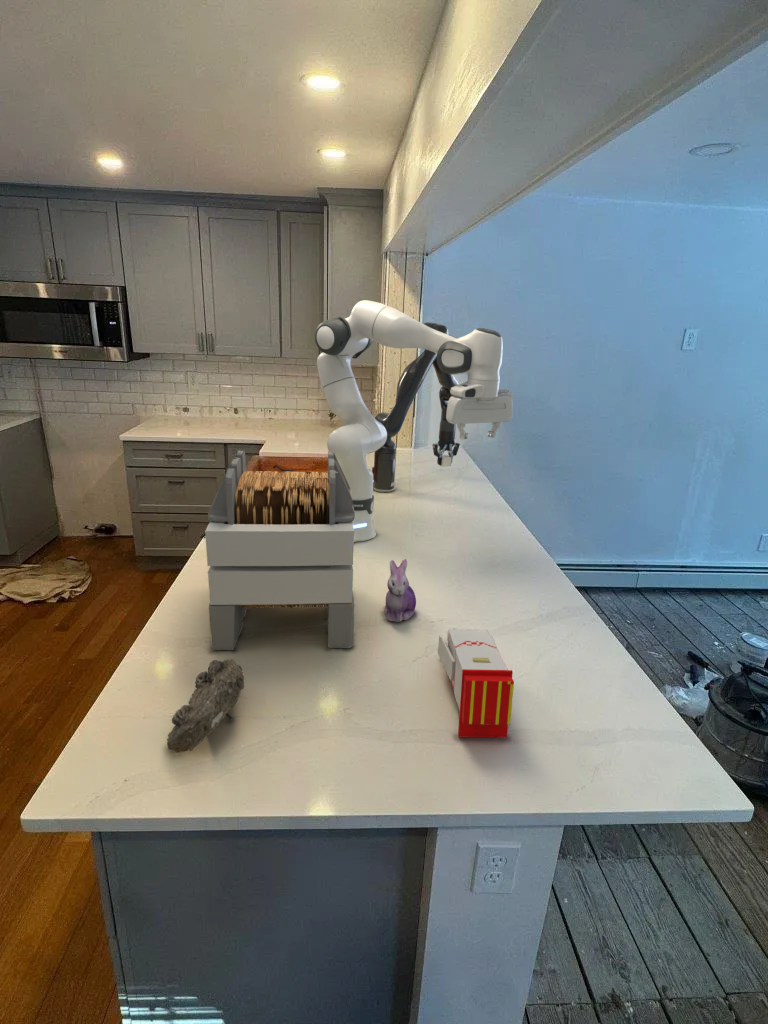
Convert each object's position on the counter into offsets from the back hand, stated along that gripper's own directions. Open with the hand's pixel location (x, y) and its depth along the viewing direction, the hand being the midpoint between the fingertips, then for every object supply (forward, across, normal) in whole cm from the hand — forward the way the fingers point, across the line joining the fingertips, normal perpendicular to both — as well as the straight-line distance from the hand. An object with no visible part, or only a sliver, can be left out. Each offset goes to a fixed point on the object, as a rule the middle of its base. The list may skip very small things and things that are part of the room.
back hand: (444, 464), depth 270 cm
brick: (0, 0, 0) cm, 0 cm away
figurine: (+7, +75, +111) cm, 134 cm away
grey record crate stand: (+7, +103, +101) cm, 144 cm away
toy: (+7, +75, +145) cm, 163 cm away
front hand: (-34, +44, +91) cm, 106 cm away
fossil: (+7, +126, +134) cm, 184 cm away
